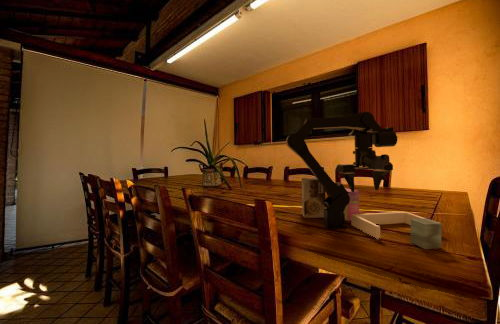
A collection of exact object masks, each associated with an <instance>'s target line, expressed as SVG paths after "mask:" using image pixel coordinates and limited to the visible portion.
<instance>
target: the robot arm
mask: <svg viewBox="0 0 500 324" xmlns="http://www.w3.org/2000/svg"><path fill="white" fill-rule="evenodd" d="M340 128H343V129H344V128H345V129H348V130H349V129H350V130H351V132H349V133H348V137H354V150H353V151H352V155H354V161H353V162H352V164H351V163H338V164H337V165H336V167H335V171H336V173H339V174H340V175H342V176H343V178H344V180H345V182H346V183H347V186H348V187H349V189H351V191H352V192H354V190H355V177H356V173H355V171H362V170H363V171H367V170H371V173H372V180H373V181H372V182H373V187H374V190H375V191H378V190H379V188H380V186H381V183H382V180H383V179H384V176H385V175H387V174H389V173H390V171H393V170H394V165H393V163H392V162H391V161H390V155H388V154H385V153H384V154H380V155H377V154H376V150H374V149H373V146H374V147H375V148H385V147H387V148H389V147H392V148H393V147H395V146H396V145H397V143H398V136H397V133H396V131H395V130H394V127H391V126H389V127H385V128H382V127H381V126H380V125H379V123H378V122H377V120H375V117H374V115H373V114H372V112H370V111H362V112H359V113H358V112H357V113H354V114H350V115H345V116H333V117H330V116H329V117H315V118H314V117H310V118H307V119H306V120H305V121H304V122H303V124H302V125H301V126H300V127H299V128H298V129H297V131H295V132H294V133H291V134H289V135H288V136H287V137H286V140H285V145H286V147H287V148H288V149H290V150H291V151H292V152H293V153H294V154H295V155H297V157H299V158H300V159H301V160H302V162H303V163H304V164H305V165H306V167H307V168H308V169H309V170H310V172H311V173H312V174H313V175H314V177H315V178H317V179H318V180H319V181H320V183H321V184H322V185H323V187H324V189H325V194H326V196H327V197H325V200H324V201H323V204H324V206H325V207H326V208H324V218H323V221H322V222H321V224H322V225H323V226H325V227H326V228H327V229H329V230H330V229H346V228H347V226H346V225H345V223H346V220H345V214H344V210H345V207H346V206H347V205H348V204H349V202H350V196H349V195H348V193H349V192H348V191H347V190H346V189H345V188H346V187H345V186H344V184H343V183H341V182H338V181H336V182H334V180H333V179H332V178H331V176H329V175H328V173H327V172H326V170H325V169H324V168H323V167H322V165H321V164H320V163H319V161H318V160H317V159H316V157H315V156H314V155H313V154H312V153H311V152H310V150H309V147H308V144H307V143H306V141H305V139H306V138H307V137H308V135H309V134H311V132H312V130H321V129H322V130H323V129H340Z"/></svg>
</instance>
